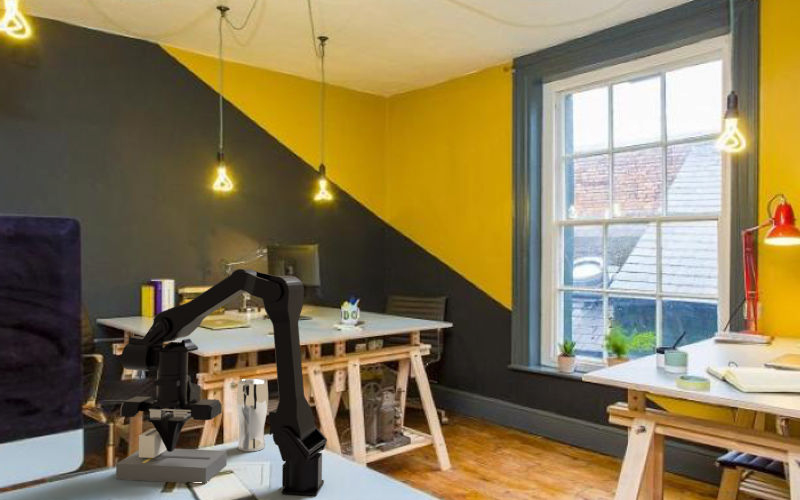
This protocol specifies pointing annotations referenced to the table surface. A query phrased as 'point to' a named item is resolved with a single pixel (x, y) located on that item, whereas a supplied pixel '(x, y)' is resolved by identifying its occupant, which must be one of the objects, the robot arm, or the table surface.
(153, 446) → the fader tab
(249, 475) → the table surface
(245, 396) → the beer glass
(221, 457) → the fader console
